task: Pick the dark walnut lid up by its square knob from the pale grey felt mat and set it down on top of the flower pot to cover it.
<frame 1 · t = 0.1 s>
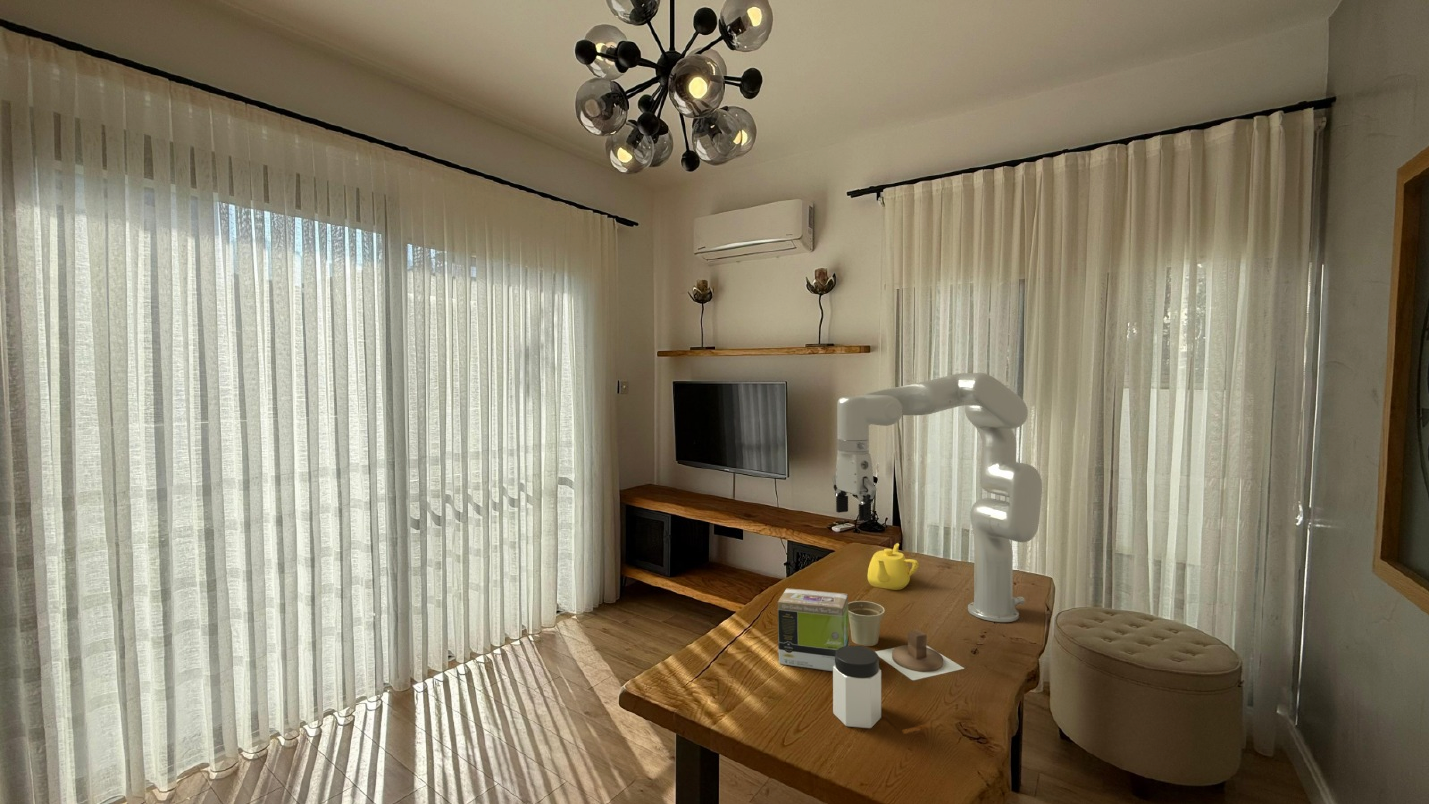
hand: (853, 516, 143), 31 cm above the table, fingers open, 9 cm apart
mat: (917, 662, 132), on the table
tea box: (814, 660, 134), on the table
flower pot: (864, 643, 143), on the table
lid: (917, 660, 132), point 1 cm above the table, touching mat
teapot: (893, 584, 184), on the table
jar: (857, 717, 111), on the table
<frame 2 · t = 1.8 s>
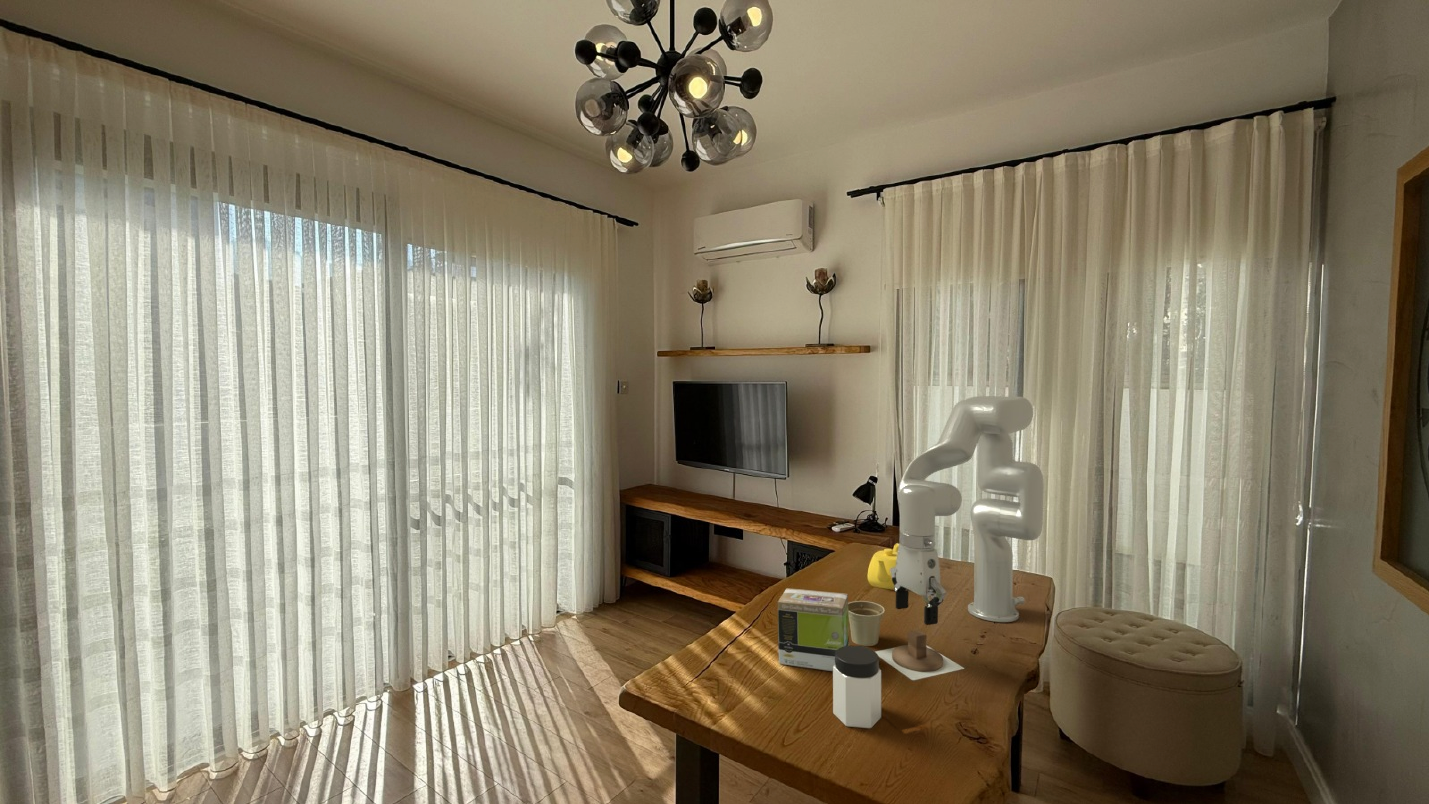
hand: (915, 615, 131), 11 cm above the table, fingers open, 9 cm apart
nothing on the table moved.
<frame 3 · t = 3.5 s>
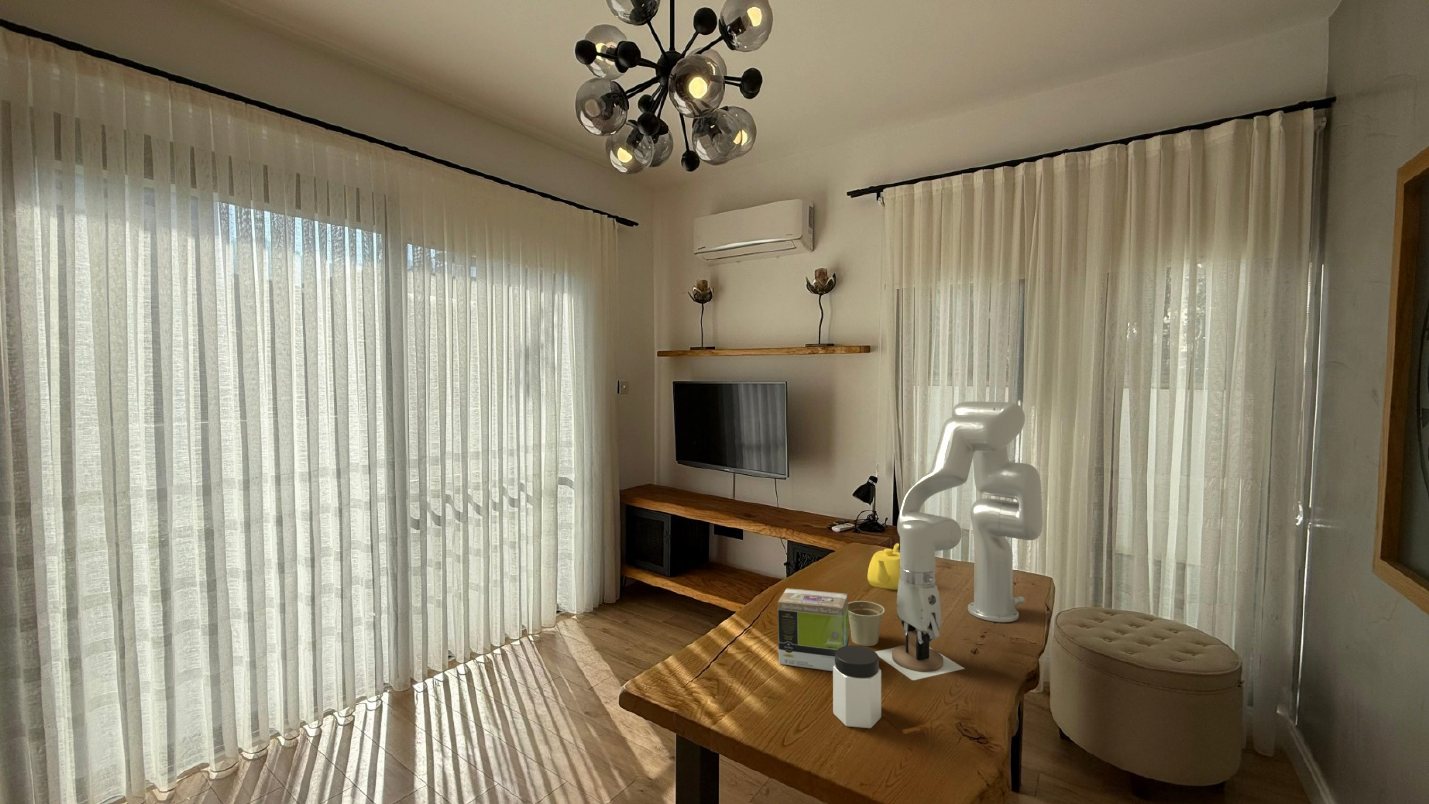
hand: (917, 654, 132), 2 cm above the table, fingers closed on lid, 2 cm apart
lid: (917, 659, 132), point 1 cm above the table, touching gripper
everything else where it was.
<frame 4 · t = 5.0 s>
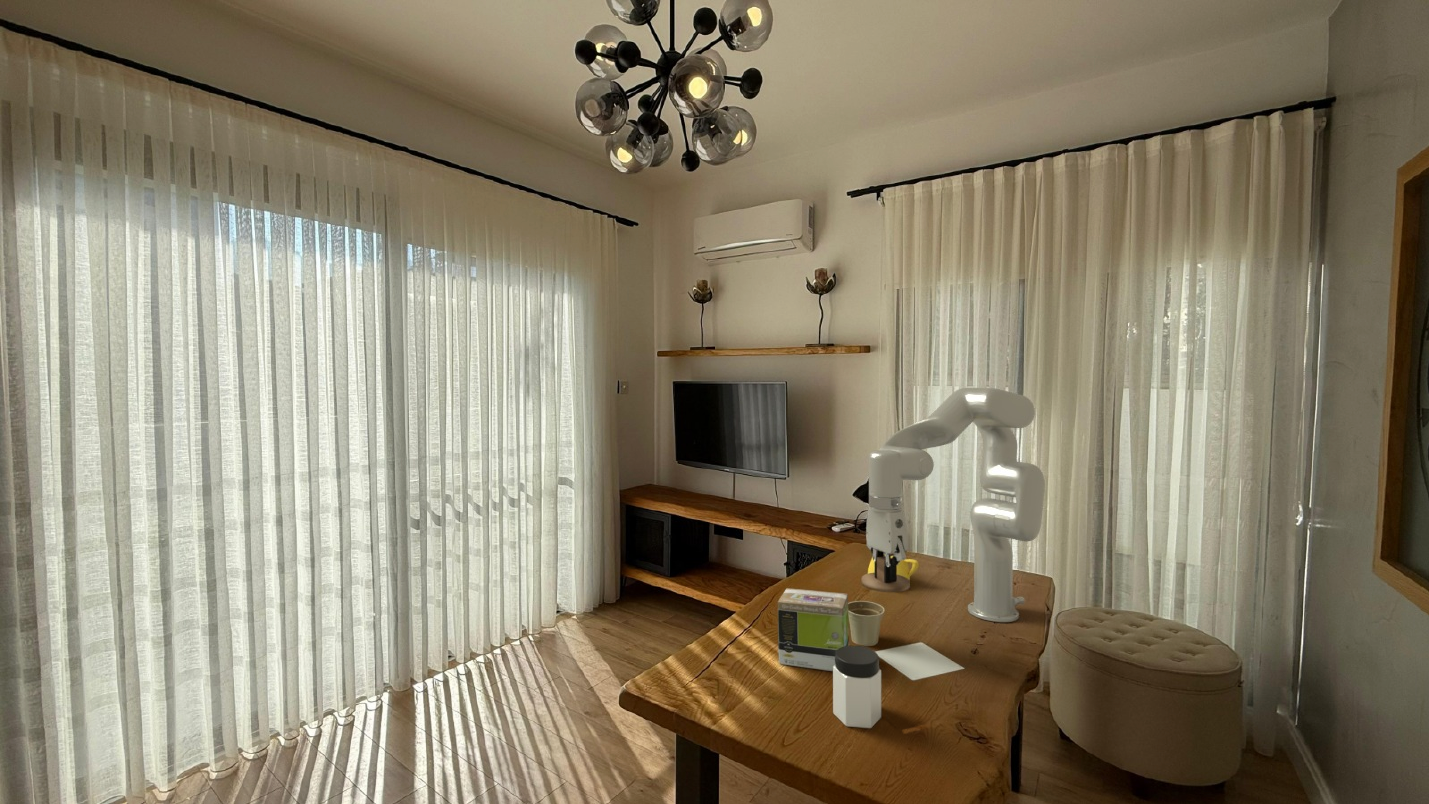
hand: (885, 579, 138), 17 cm above the table, fingers closed on lid, 2 cm apart
lid: (885, 584, 138), point 16 cm above the table, touching gripper
everything else where it was.
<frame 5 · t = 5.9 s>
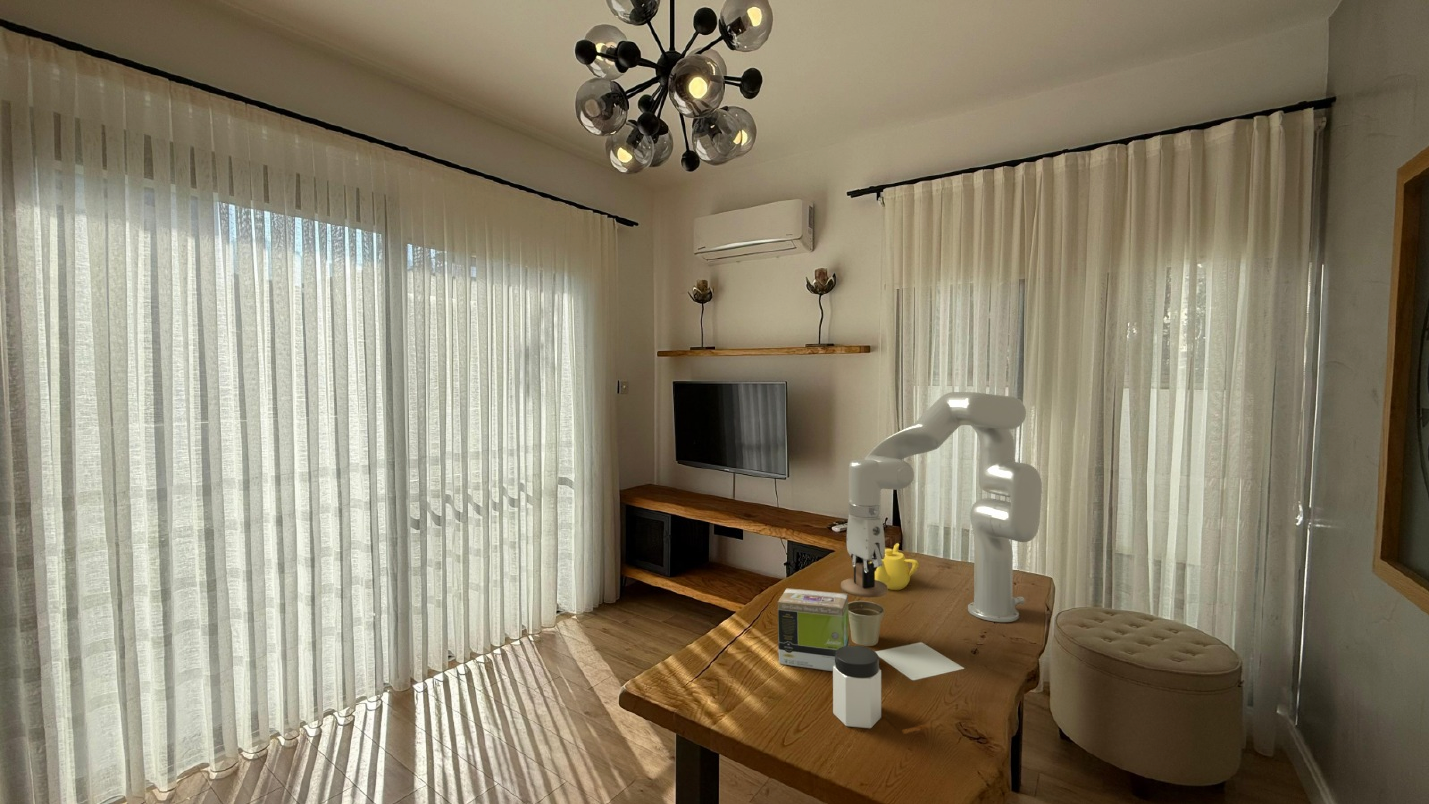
hand: (864, 584, 142), 14 cm above the table, fingers closed on lid, 2 cm apart
lid: (863, 589, 142), point 13 cm above the table, touching gripper
everything else where it was.
when the fingers open (11 cm above the table, at t = 6.6 s): lid drops 2 cm, resting on flower pot.
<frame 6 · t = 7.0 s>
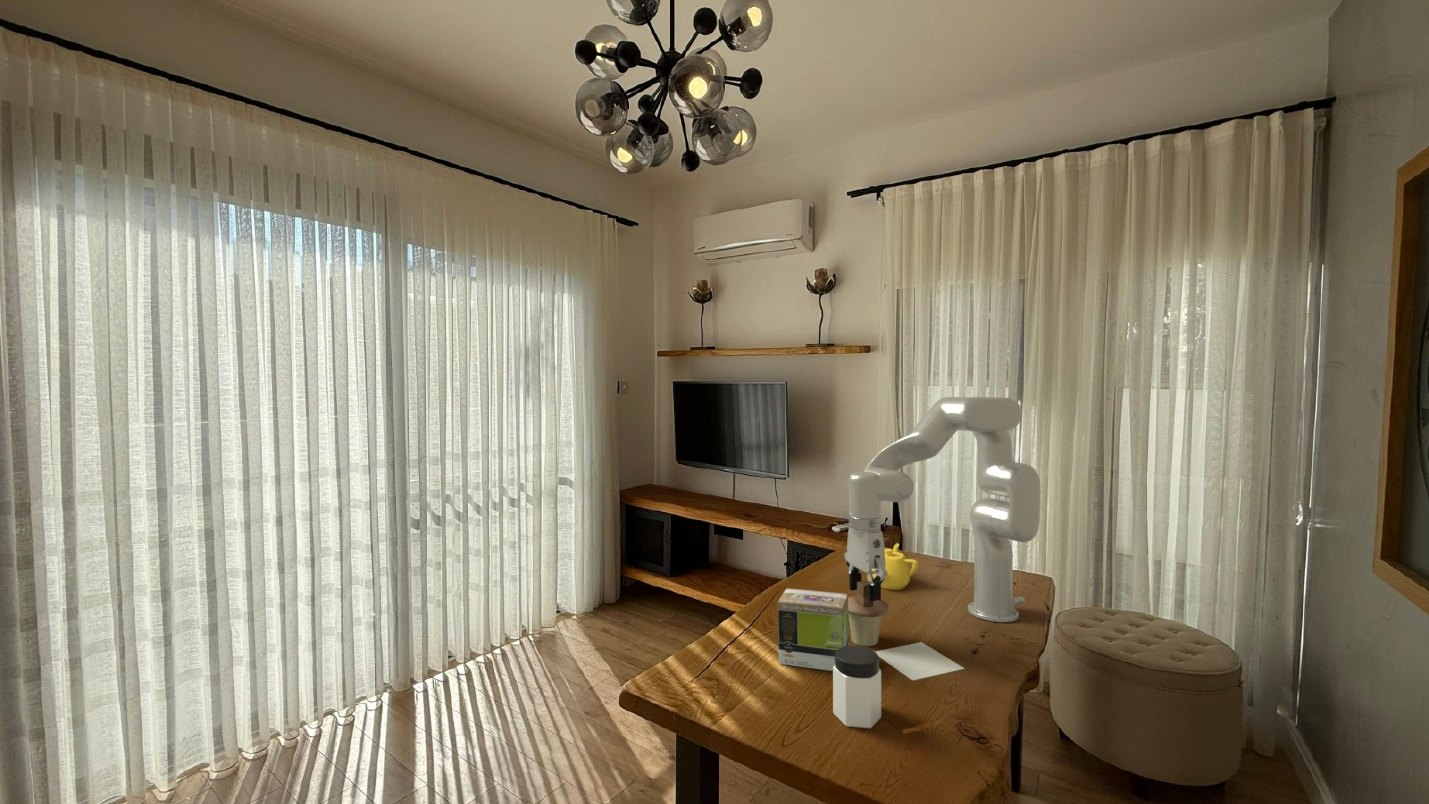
hand: (864, 594, 142), 12 cm above the table, fingers open, 7 cm apart
flower pot: (864, 643, 143), on the table, touching lid
lid: (865, 608, 142), point 9 cm above the table, touching flower pot
everything else where it was.
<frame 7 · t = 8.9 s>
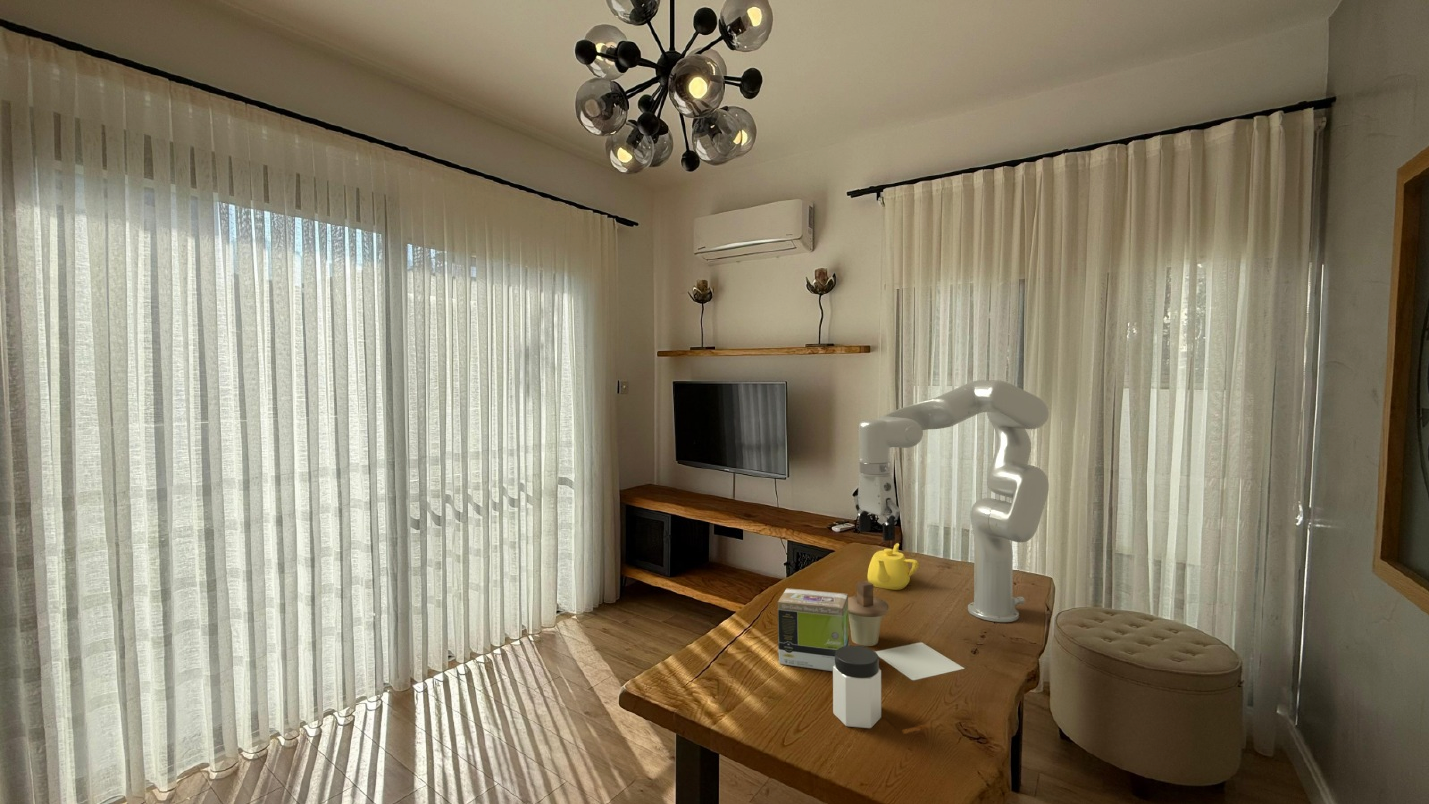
hand: (876, 535, 148), 25 cm above the table, fingers open, 9 cm apart
nothing on the table moved.
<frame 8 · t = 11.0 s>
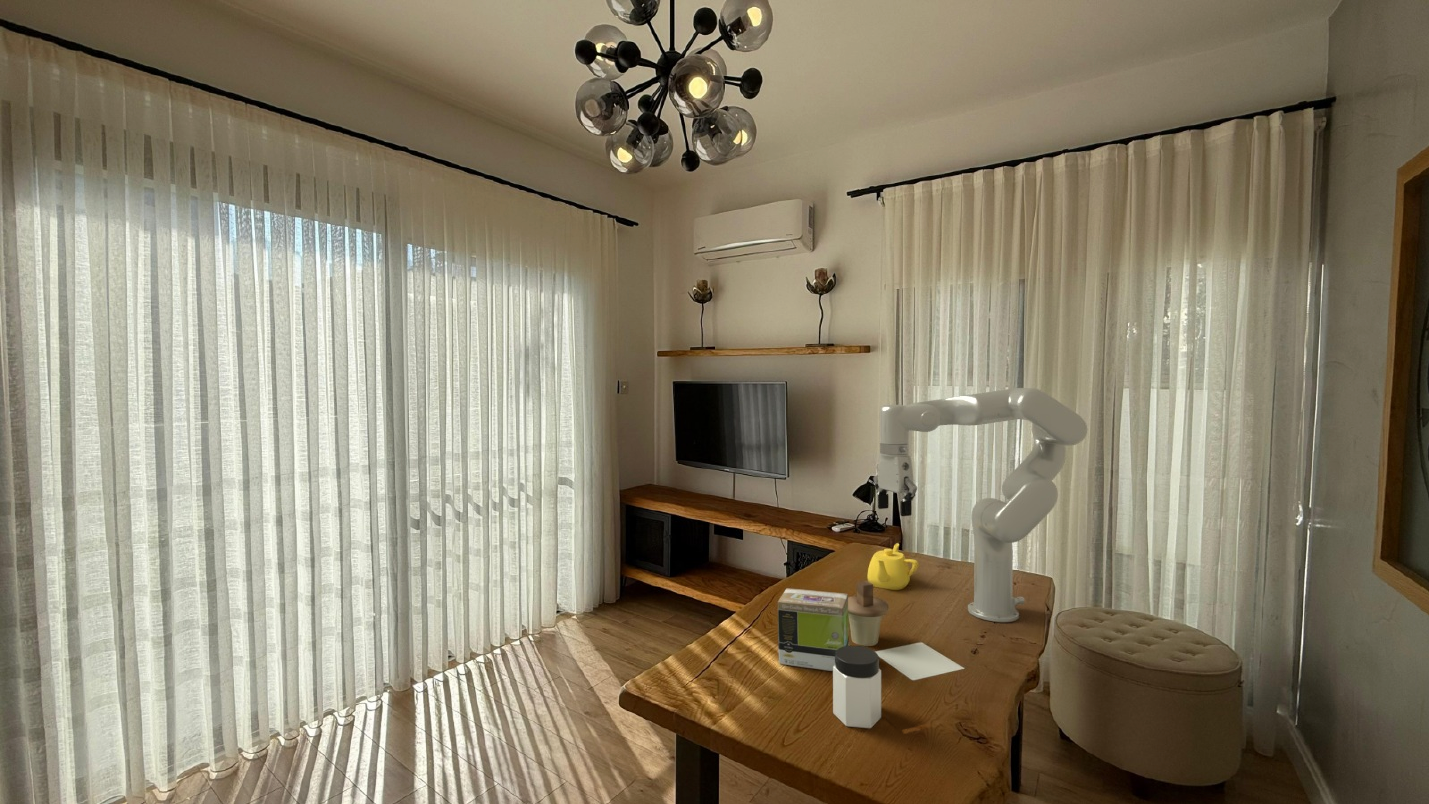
hand: (894, 512, 159), 28 cm above the table, fingers open, 9 cm apart
nothing on the table moved.
at the end: lid 0.1 cm from the flower pot (horizontally); lid point 8.6 cm above the table; lid tilted 0° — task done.
